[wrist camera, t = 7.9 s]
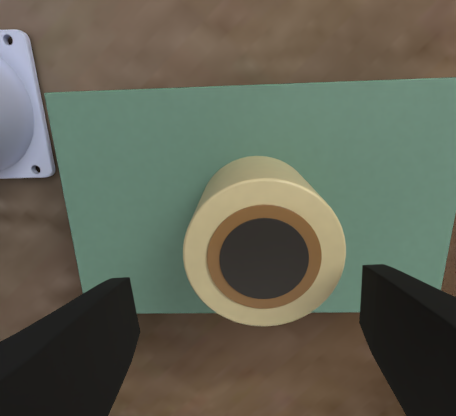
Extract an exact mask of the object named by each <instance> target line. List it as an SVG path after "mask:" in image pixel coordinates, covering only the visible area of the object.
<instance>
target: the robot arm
mask: <svg viewBox="0 0 456 416" xmlns="http://www.w3.org/2000/svg"><path fill="white" fill-rule="evenodd" d="M10 36H11V37H12V39H13V43H12V44H11V45H10V44H9V42H8V39H9V37H10ZM36 166H38V167H39V168H40V173H39V172H38V171H37V170H36ZM54 173H55V164H54V159H53V154H52V149H51V144H50V138H49V133H48V128H47V123H46V118H45V113H44V108H43V103H42V98H41V93H40V88H39V83H38V78H37V73H36V67H35V62H34V57H33V52H32V47H31V42H30V39H29V36H28V35H27V34H26V33H25V32H23V31H21V30H17V29H10V30H0V179H6V178H46V177H50V176H52V175H54ZM359 323H360V325H361V328H362V330H363V333H364V336H365V338H366V341H367V343H368V345H369V348H370V350H371V353H372V355H373V356H374V358H375V360H376V362H377V364H378V366H379V367H380V369H381V371H382V373H383V375H384V376H385V378H386V380H387V382H388V384H389V385H390V387H391V389H392V391H393V392H394V394H395V396H396V398H397V399H398V401H399V403H400V405H401V407H402V408H403V410H404V412H405V414H406V415H407V416H456V297H454V296H452V295H450V294H447V293H445V292H443V291H441V290H439V289H437V288H435V287H433V286H431V285H429V284H427V283H424V282H422V281H420V280H418V279H416V278H414V277H412V276H410V275H408V274H406V273H404V272H402V271H399V270H397V269H395V268H393V267H390V266H388V265H385V264H374V265H363V266H362V285H361V303H360V321H359ZM139 334H140V328H139V323H138V318H137V313H136V308H135V302H134V297H133V292H132V287H131V281H130V277H123V278H110V279H108V280H106V281H104V282H102V283H100V284H98V285H97V286H95V287H93V288H92V289H90V290H88V291H87V292H85V293H83V294H82V295H80V296H79V297H77V298H75V299H74V300H72V301H70V302H69V303H67V304H66V305H64V306H62V307H61V308H59V309H57V310H56V311H54V312H52V313H51V314H49V315H47V316H46V317H44V318H42V319H40V320H39V321H37V322H35V323H33V324H32V325H30V326H28V327H26V328H25V329H23V330H21V331H20V332H18V333H16V334H14V335H12V336H10V337H9V338H7V339H5V340H3V341H1V342H0V416H108V415H109V412H110V410H111V408H112V405H113V403H114V401H115V399H116V396H117V394H118V392H119V390H120V387H121V385H122V383H123V380H124V378H125V376H126V374H127V371H128V369H129V366H130V364H131V362H132V358H133V355H134V352H135V349H136V345H137V341H138V338H139Z"/></svg>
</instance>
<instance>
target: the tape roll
mask: <svg viewBox="0 0 456 416" xmlns="http://www.w3.org/2000/svg"><path fill="white" fill-rule="evenodd" d="M345 258H346V243H345V236H344V233H343V229H342V226H341V224H340V222H339V220H338V217H337V216H336V214H335V213H334V211H333V210H332V208H331V207H330V206H329V205H328V204H327V203H326V202H325V200H324V199H323V198H322V197H321V196H320V195H319V194H318V193H317V192H316V191H315V190H314V189H313V188H312V187H311V185H310V184H309V183H308V182H307V181H306V180H305V179H304V178H303V177H302V176H301V175H300V174H299V173H298V172H297V171H296V170H295V169H294V168H293V167H291V166H290V165H288V164H287V163H285V162H283V161H280V160H278V159H275V158H272V157H266V156H249V157H244V158H240V159H237V160H235V161H232V162H230V163H228V164H227V165H225V166H224V167H222V168H221V169H220V170H219V171H217V172H216V173H215V174H214V176H213V177H212V178H211V179H210V181H209V182H208V184H207V185H206V187H205V190H204V192H203V194H202V196H201V199H200V201H199V203H198V205H197V208H196V210H195V212H194V214H193V217H192V219H191V221H190V224H189V226H188V228H187V231H186V234H185V238H184V244H183V262H184V268H185V271H186V275H187V278H188V280H189V282H190V284H191V286H192V288H193V289H194V291H195V292H196V294H197V295H198V296H199V298H200V299H201V300H202V301H203V302H204V303H205V304H206V305H207V306H208V307H209V308H211V309H212V310H213V311H215V312H216V313H218V314H219V315H221V316H223V317H225V318H227V319H229V320H232V321H234V322H238V323H241V324H245V325H252V326H275V325H281V324H285V323H289V322H292V321H295V320H297V319H300V318H302V317H304V316H306V315H307V314H309V313H311V312H312V311H314V310H315V309H316V308H318V307H319V306H320V305H321V304H322V303H323V302H324V301H326V299H327V298H328V297H329V296H330V295H331V293H332V292H333V290H334V289H335V287H336V286H337V284H338V282H339V280H340V278H341V275H342V272H343V269H344V265H345Z"/></svg>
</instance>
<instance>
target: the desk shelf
mask: <svg viewBox="0 0 456 416" xmlns="http://www.w3.org/2000/svg"><path fill="white" fill-rule="evenodd" d="M44 96H45V101H46V106H47V111H48V116H49V121H50V127H51V132H52V137H53V142H54V147H55V152H56V158H57V163H58V168H59V173H60V178H61V183H62V188H63V194H64V199H65V204H66V209H67V214H68V219H69V225H70V230H71V235H72V240H73V245H74V250H75V255H76V261H77V266H78V271H79V276H80V281H81V286H82V291H83V293H85V292H87V291H88V290H90V289H92V288H93V287H95V286H97V285H98V284H100V283H102V282H104V281H106V280H108V279H110V278H123V277H130V281H131V287H132V292H133V297H134V302H135V308H136V313H216V312H215V311H213V310H212V309H211V308H209V307H208V306H207V305H206V304H205V303H204V302H203V301H202V300H201V299H200V298H199V296H198V295H197V294H196V292H195V291H194V289H193V288H192V286H191V284H190V282H189V280H188V278H187V275H186V271H185V268H184V262H183V244H184V238H185V234H186V231H187V228H188V226H189V224H190V221H191V219H192V217H193V214H194V212H195V210H196V208H197V205H198V203H199V201H200V199H201V196H202V194H203V192H204V190H205V187H206V185H207V184H208V182H209V181H210V179H211V178H212V177H213V176H214V174H215V173H216V172H217V171H219V170H220V169H221V168H222V167H224V166H225V165H227V164H228V163H230V162H232V161H235V160H237V159H240V158H244V157H249V156H266V157H272V158H275V159H278V160H280V161H283V162H285V163H287V164H288V165H290V166H291V167H293V168H294V169H295V170H296V171H297V172H298V173H299V174H300V175H301V176H302V177H303V178H304V179H305V180H306V181H307V182H308V183H309V184H310V185H311V187H312V188H313V189H314V190H315V191H316V192H317V193H318V194H319V195H320V196H321V197H322V198H323V199H324V200H325V202H326V203H327V204H328V205H329V206H330V207H331V208H332V210H333V211H334V213H335V214H336V216H337V217H338V220H339V222H340V224H341V226H342V229H343V233H344V236H345V243H346V258H345V265H344V269H343V272H342V275H341V278H340V280H339V282H338V284H337V286H336V287H335V289H334V290H333V292H332V293H331V295H330V296H329V297H328V298H327V299H326V301H324V302H323V303H322V304H321V305H320V306H319V307H318V308H316V309H315V310H314V311H312V312H360V303H361V285H362V266H363V265H374V264H385V265H388V266H390V267H393V268H395V269H397V270H399V271H402V272H404V273H406V274H408V275H410V276H412V277H414V278H416V279H418V280H420V281H422V282H424V283H427V284H429V285H431V286H433V287H435V288H437V289H439V290H441V286H442V281H443V276H444V270H445V265H446V260H447V255H448V249H449V244H450V239H451V234H452V229H453V223H454V218H455V213H456V77H450V78H423V79H397V80H370V81H343V82H317V83H290V84H263V85H236V86H210V87H183V88H156V89H130V90H103V91H76V92H49V93H44ZM312 312H311V313H312Z"/></svg>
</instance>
